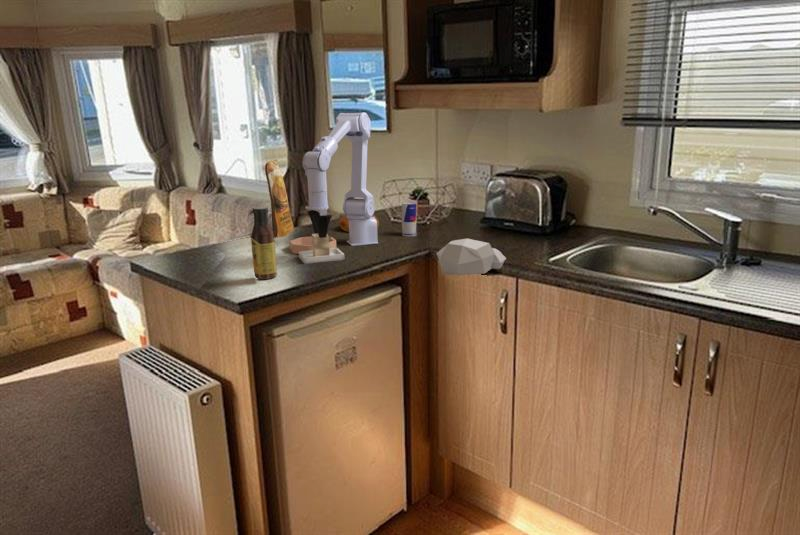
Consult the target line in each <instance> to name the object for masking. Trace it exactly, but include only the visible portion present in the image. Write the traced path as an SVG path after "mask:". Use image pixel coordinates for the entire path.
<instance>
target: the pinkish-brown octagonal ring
mask: <svg viewBox="0 0 800 535" xmlns="http://www.w3.org/2000/svg"><path fill="white" fill-rule="evenodd" d="M332 248H338V247H337V240H336V239H335V238H334V237H333V236H329V249H332ZM289 250H290V252H292V254H295V255H299V252H300V251H311V250H313V245H312V235H311V236H302V237H298V238H293V239H291V240H289Z"/></svg>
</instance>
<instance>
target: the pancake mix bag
mask: <svg viewBox="0 0 800 535" xmlns="http://www.w3.org/2000/svg"><path fill="white" fill-rule="evenodd" d="M264 172H265V174H264V175H265V176H266V182H267V187H268V194H269V198H270V207H271V208H270V210H271V211H270V212H271V228H272V230H273V233H274V238H276V237H277V239H279V238H282V237H283V238H284V237H286V236H288V235H289V234H291V233H292V232H294V224H293V222H294V221H293V219H292V215H291V211H290V204H289V199H288V194H287V191H286V185H285V180H284V178H283V175H282V172H281V168H280V166H279V161H278V159H274V160H270V161H267V162H266V164H265V166H264ZM278 237H279V238H278Z"/></svg>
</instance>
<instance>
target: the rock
mask: <svg viewBox="0 0 800 535" xmlns="http://www.w3.org/2000/svg"><path fill="white" fill-rule="evenodd" d="M436 256H437V258H438V262H439V264H440V266H441V268H440V269H441V274H443V275H453V276H468V275H470V276H471V275H480V274H481V275H482V274H483V275H484V274H486V273H488V271H491V270H492V269H494V270H497V269H499V270H501V268H502V266H503V264H504V263H505V261H506V260H507V257H506V256H505V255H503V253H502V252H501V251H500V250H498V248H497V249H496V248H494V247H492V245H491V243H490V242H485V241H482V240H476V239H471V238H462V239H454V240H451V241H450V242H448V243H447V244H446V245H445V246H443V247H442V248H441V249H440V250H439V251H437V252H436Z"/></svg>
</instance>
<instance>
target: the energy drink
mask: <svg viewBox="0 0 800 535" xmlns="http://www.w3.org/2000/svg"><path fill="white" fill-rule="evenodd" d="M416 203H417V202H413V201H405V202H402V203H401V232H402V233H401V236H403V237H406V238H407V237H409V238H410V237H411V236H412V237H416V236H418V235H417V233H418V228H417V227H418V223H417V221H418V220H417V218H418V217H417V204H416Z"/></svg>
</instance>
